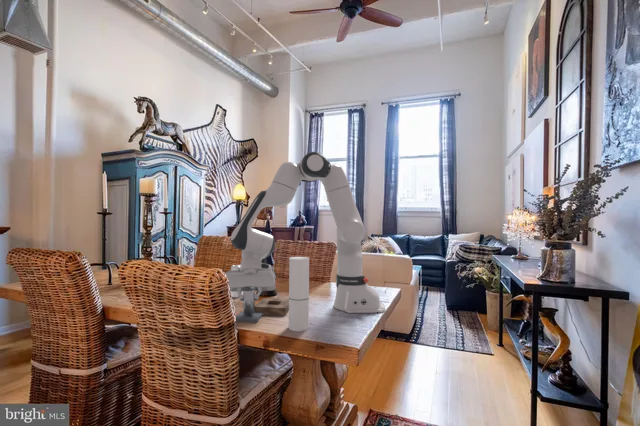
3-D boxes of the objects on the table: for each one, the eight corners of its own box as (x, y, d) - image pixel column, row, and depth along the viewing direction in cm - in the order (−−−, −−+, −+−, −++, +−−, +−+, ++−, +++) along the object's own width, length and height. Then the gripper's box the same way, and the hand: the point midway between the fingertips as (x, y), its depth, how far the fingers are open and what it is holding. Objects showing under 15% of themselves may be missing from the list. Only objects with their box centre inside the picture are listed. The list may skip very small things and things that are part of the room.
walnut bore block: (291, 306, 138) (291, 299, 138) (285, 315, 125) (285, 308, 125) (263, 304, 139) (263, 298, 139) (254, 314, 126) (254, 306, 126)
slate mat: (263, 314, 125) (263, 312, 125) (256, 322, 116) (256, 319, 116) (241, 313, 126) (241, 311, 126) (233, 321, 117) (233, 318, 117)
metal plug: (256, 311, 123) (256, 286, 123) (252, 315, 119) (252, 289, 119) (245, 311, 124) (245, 285, 124) (241, 314, 119) (241, 288, 119)
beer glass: (227, 297, 151) (227, 266, 151) (236, 293, 158) (236, 264, 158) (239, 298, 149) (240, 267, 149) (247, 295, 155) (248, 265, 155)
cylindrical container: (309, 324, 115) (310, 256, 115) (307, 331, 108) (307, 259, 108) (290, 323, 116) (291, 256, 116) (286, 330, 108) (287, 259, 109)
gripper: (224, 266, 127) (220, 296, 117) (275, 265, 130) (275, 294, 120) (225, 274, 131) (222, 304, 121) (274, 273, 134) (275, 302, 125)
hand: (249, 299), depth 121 cm, fingers closed on metal plug, 4 cm apart
